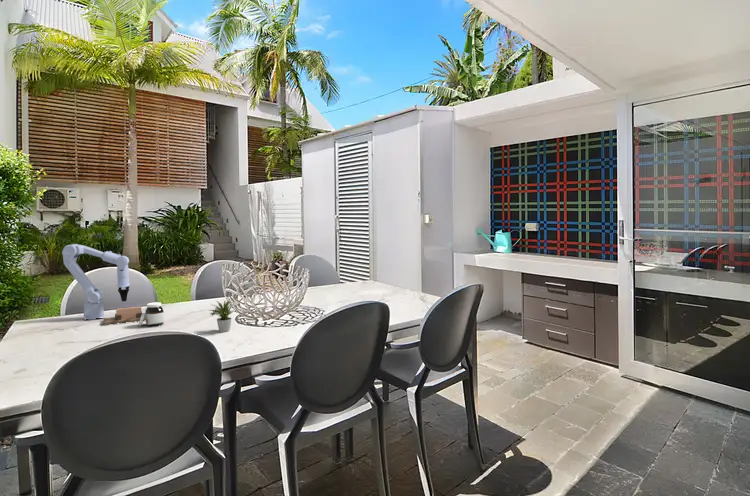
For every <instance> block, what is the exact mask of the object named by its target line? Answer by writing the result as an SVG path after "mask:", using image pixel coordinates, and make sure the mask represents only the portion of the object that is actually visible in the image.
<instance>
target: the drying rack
mask: <svg viewBox="0 0 750 496" xmlns="http://www.w3.org/2000/svg"><path fill="white" fill-rule="evenodd" d="M142 313H143V311H142V310H141V313H136V318H128V319H121V315H116V313H114V316H112V317H111V316H110V317H105V318H103V321H102V326H103V325H104V326H110V325H109V324H113V325H118V324H117V323H122V324H127V323H126V322H132V323H136V322H135V321H140V318H141V315H142ZM144 320H146V318H145V317H144ZM144 320H143V322H145V321H144Z"/></svg>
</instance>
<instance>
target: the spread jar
mask: <svg viewBox="0 0 750 496" xmlns="http://www.w3.org/2000/svg"><path fill="white" fill-rule="evenodd" d="M144 312H145V313H144ZM144 312H142V315H141V318H140V321H139V322H138V325H137V326H139V327H141V326H142V324H143V322H144V321H143V320H144V317H145V318H146V321H145V323H146V326H147V327H149V326H155V327H159V325H160V326H162V325H163V324H164V323H165V314H164V308H163V307H162V302H160V301H159V302H158V301H157V302H155V301H154V302H149V303H147V304H146V308H145V311H144Z"/></svg>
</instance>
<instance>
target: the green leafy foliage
mask: <svg viewBox="0 0 750 496" xmlns="http://www.w3.org/2000/svg"><path fill="white" fill-rule="evenodd" d="M227 300H228V299H225V301H226V302H227ZM226 302H225V305H226ZM220 303H221V304H222V306H224V301H223V302H220ZM217 306H218V307H219V304H218V305H217ZM228 307H229V308H230V306H229V305H228ZM219 308H220V307H219ZM217 309H218V308H217V307H216V306H215V308H214V310H217ZM220 309H221V308H220ZM218 310H219V309H218ZM228 310H229V309H228ZM219 311H220V310H219ZM232 311H233V312H232ZM229 312H231V313H230V314H229V315H232V314H233V313H234V312H235V311H234V310H233V308H232V307H231V309H230V310H229ZM213 314H215V315H217V314H218V315H220V314H219V313H217V312H215V313H214V312H213Z"/></svg>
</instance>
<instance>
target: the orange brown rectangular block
mask: <svg viewBox="0 0 750 496" xmlns="http://www.w3.org/2000/svg"><path fill="white" fill-rule="evenodd" d="M141 311H142V306H131V307H120V308H119V307H118V308H116V309H115V314H116V315H121V319H128V318H136V313H141Z"/></svg>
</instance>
